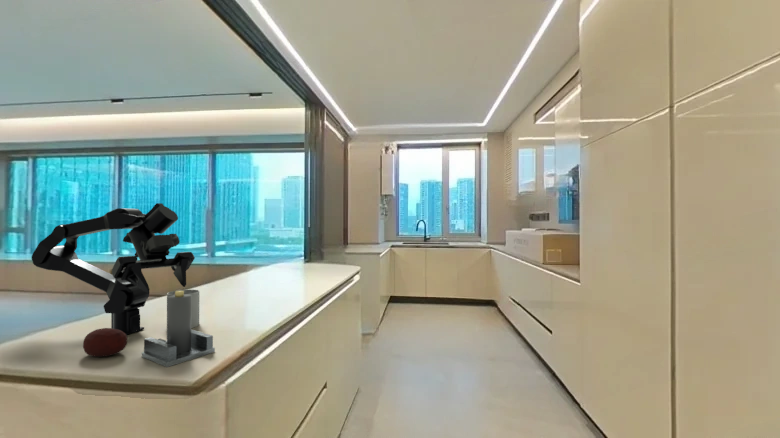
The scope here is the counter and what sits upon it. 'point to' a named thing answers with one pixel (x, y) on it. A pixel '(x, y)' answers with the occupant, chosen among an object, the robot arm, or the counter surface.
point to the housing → (167, 352)
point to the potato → (104, 342)
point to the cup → (193, 305)
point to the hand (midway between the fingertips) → (167, 288)
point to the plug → (179, 321)
